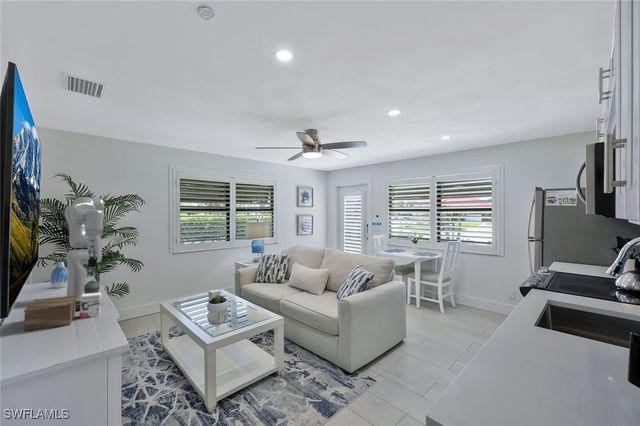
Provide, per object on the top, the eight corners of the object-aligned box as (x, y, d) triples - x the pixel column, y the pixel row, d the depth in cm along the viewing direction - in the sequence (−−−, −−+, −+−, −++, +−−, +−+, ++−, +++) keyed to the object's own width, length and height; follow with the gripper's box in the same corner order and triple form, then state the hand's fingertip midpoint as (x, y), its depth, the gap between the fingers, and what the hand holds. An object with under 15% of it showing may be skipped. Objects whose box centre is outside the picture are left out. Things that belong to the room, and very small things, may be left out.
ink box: (79, 318, 147) (80, 296, 147) (80, 315, 151) (81, 293, 151) (99, 315, 152) (100, 294, 152) (100, 313, 156) (101, 292, 156)
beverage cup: (86, 305, 166) (87, 272, 166) (100, 304, 169) (102, 271, 169) (80, 309, 159) (82, 275, 160) (96, 308, 162) (97, 274, 162)
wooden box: (34, 319, 144) (35, 301, 144) (75, 313, 153) (76, 297, 153) (23, 331, 129) (24, 312, 129) (69, 325, 138) (70, 307, 139)
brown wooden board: (34, 301, 144) (34, 299, 144) (76, 297, 153) (76, 295, 153) (24, 312, 129) (24, 310, 129) (71, 306, 139) (71, 304, 139)
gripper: (101, 233, 147) (100, 267, 147) (103, 231, 161) (102, 262, 161) (83, 233, 143) (81, 268, 142) (87, 231, 157) (85, 263, 157)
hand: (92, 265), depth 152 cm, fingers open, 5 cm apart
